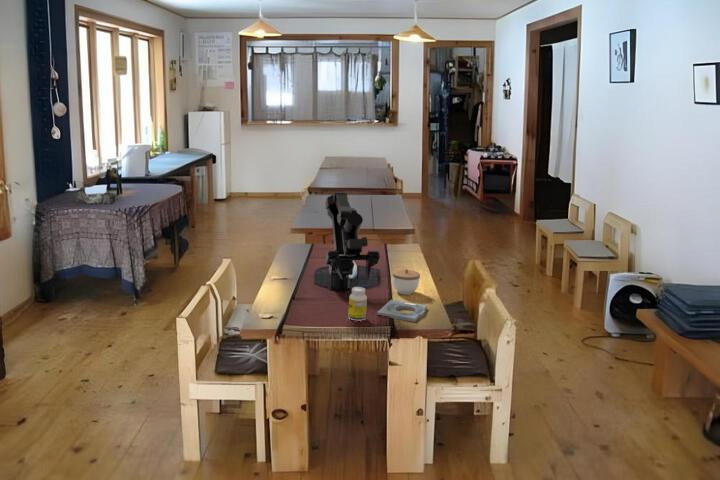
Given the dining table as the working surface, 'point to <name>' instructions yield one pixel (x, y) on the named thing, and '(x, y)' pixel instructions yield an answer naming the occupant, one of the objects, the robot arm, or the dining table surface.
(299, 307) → the dining table surface
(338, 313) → the dining table surface
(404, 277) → the lidded jar
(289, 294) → the dining table surface
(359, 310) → the pill bottle
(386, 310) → the socket board
